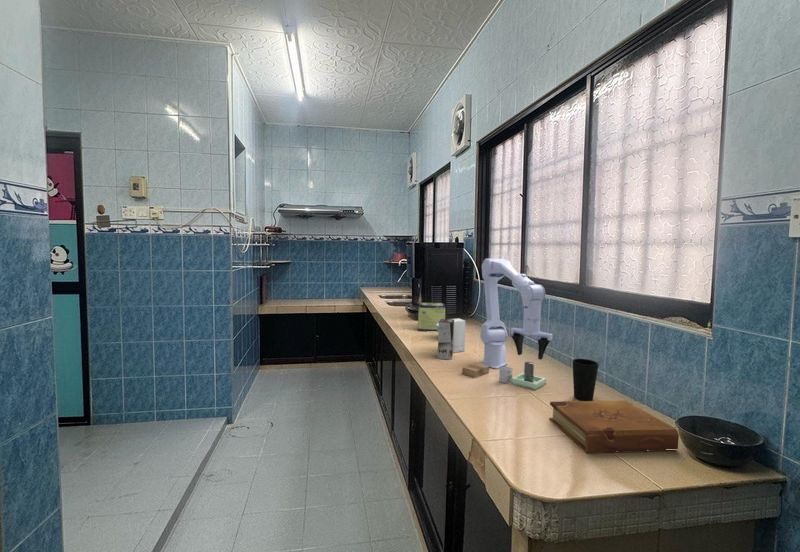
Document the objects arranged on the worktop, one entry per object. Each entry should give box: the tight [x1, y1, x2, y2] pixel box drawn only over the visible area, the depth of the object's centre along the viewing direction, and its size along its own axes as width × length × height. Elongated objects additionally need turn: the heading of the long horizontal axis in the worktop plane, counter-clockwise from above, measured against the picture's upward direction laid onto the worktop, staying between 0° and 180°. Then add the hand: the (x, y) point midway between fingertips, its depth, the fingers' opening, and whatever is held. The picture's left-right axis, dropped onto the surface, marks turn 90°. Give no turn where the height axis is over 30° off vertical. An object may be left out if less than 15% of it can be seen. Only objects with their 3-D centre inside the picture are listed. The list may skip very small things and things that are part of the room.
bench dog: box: [498, 365, 513, 385], centre depth 140 cm, size 4×3×5 cm
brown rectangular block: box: [461, 362, 490, 379], centre depth 149 cm, size 9×6×3 cm, turn 134°
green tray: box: [510, 372, 547, 391], centre depth 139 cm, size 9×9×2 cm
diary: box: [548, 400, 680, 454], centre depth 101 cm, size 23×19×6 cm
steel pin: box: [523, 361, 535, 383], centre depth 139 cm, size 3×3×7 cm
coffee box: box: [437, 318, 454, 361], centre depth 171 cm, size 9×6×16 cm
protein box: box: [417, 302, 446, 332], centre depth 229 cm, size 10×16×16 cm
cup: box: [572, 358, 599, 401], centre depth 126 cm, size 8×8×12 cm
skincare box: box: [451, 317, 466, 353], centre depth 182 cm, size 8×6×15 cm
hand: (529, 356), depth 138 cm, fingers open, 7 cm apart
